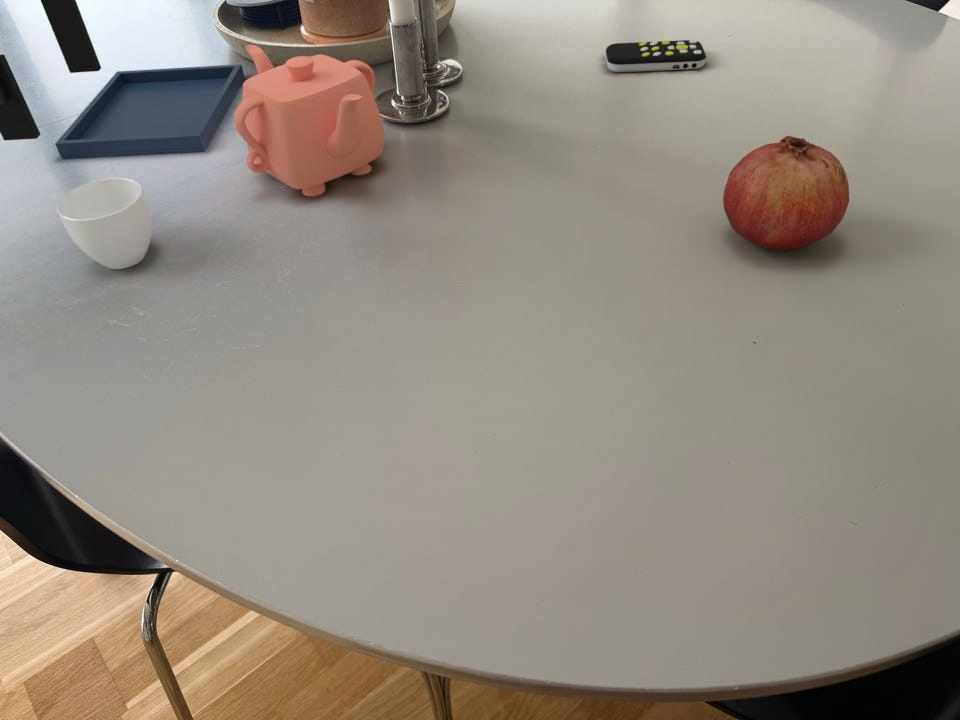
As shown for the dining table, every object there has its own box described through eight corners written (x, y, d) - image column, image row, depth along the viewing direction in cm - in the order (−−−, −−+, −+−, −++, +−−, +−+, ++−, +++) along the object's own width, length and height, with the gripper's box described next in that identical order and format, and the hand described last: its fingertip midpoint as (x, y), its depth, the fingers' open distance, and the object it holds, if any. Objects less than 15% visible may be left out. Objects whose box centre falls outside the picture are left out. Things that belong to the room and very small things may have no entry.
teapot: (378, 206, 86) (359, 89, 77) (228, 204, 88) (193, 91, 79) (404, 139, 97) (390, 31, 88) (270, 139, 99) (244, 34, 90)
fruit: (840, 220, 78) (867, 122, 72) (832, 279, 71) (860, 177, 65) (727, 204, 82) (742, 109, 75) (708, 258, 75) (723, 159, 68)
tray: (204, 151, 98) (199, 135, 96) (61, 158, 99) (54, 143, 97) (245, 78, 114) (241, 64, 112) (122, 85, 115) (116, 71, 113)
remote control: (604, 56, 112) (605, 41, 110) (699, 51, 111) (700, 36, 109) (607, 74, 107) (608, 59, 106) (706, 70, 106) (708, 54, 105)
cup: (96, 290, 77) (67, 229, 73) (70, 245, 84) (42, 186, 79) (175, 260, 80) (152, 200, 76) (144, 218, 87) (121, 160, 82)
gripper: (-119, -162, 47) (38, 169, 61) (55, -219, 66) (144, 45, 80) (-242, -152, 48) (-58, 174, 62) (-35, -211, 66) (70, 50, 80)
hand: (56, 102), depth 71 cm, fingers open, 13 cm apart
